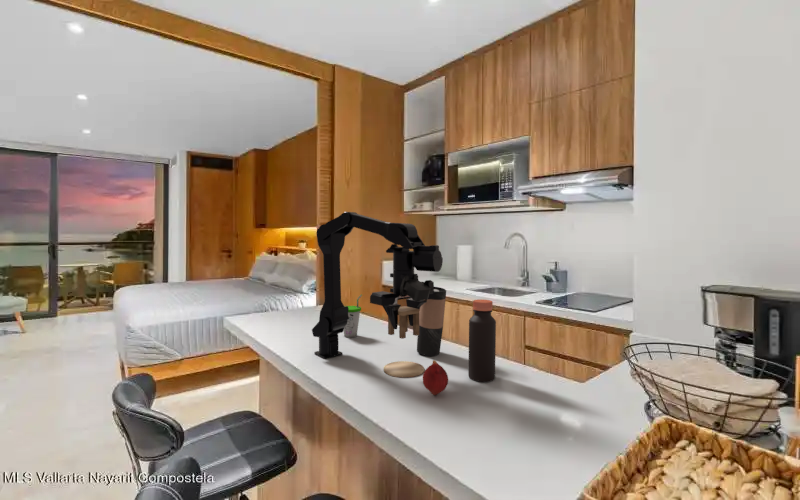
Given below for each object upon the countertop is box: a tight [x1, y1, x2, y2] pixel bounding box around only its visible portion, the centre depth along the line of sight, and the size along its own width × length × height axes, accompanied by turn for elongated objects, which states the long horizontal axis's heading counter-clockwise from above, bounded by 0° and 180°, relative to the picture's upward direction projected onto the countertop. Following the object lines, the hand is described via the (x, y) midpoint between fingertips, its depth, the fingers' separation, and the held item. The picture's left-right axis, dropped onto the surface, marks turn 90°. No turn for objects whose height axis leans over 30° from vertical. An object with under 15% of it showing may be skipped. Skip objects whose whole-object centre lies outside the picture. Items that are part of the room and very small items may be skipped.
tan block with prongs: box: [387, 305, 420, 339], centre depth 106 cm, size 6×6×7 cm
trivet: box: [383, 360, 425, 378], centre depth 107 cm, size 11×11×1 cm
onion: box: [422, 359, 449, 396], centre depth 90 cm, size 6×6×8 cm
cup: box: [343, 294, 363, 339], centre depth 141 cm, size 8×8×15 cm
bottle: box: [467, 299, 497, 383], centre depth 101 cm, size 7×7×20 cm
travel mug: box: [416, 286, 447, 357], centre depth 121 cm, size 8×8×20 cm
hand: (403, 327), depth 106 cm, fingers closed on tan block with prongs, 5 cm apart
